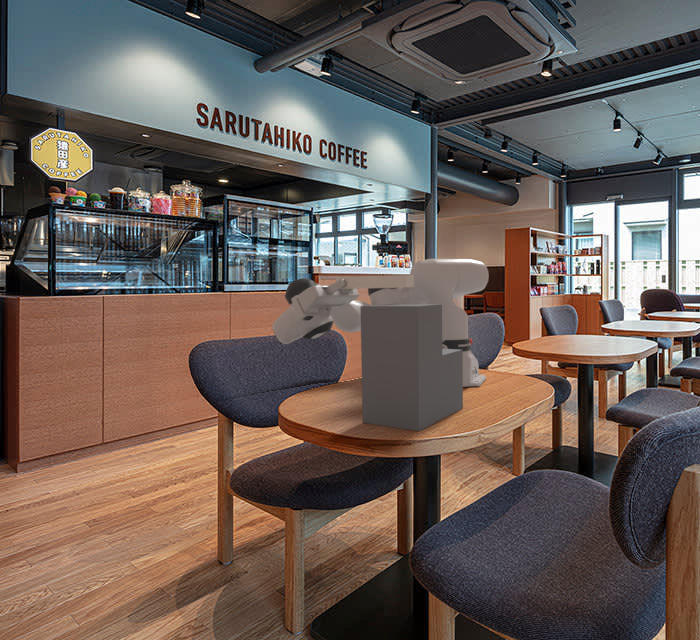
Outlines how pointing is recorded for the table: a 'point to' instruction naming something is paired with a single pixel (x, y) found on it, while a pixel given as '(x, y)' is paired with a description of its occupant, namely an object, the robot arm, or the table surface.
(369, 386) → the grey l-shaped step block
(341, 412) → the table surface
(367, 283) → the beige rectangular post
